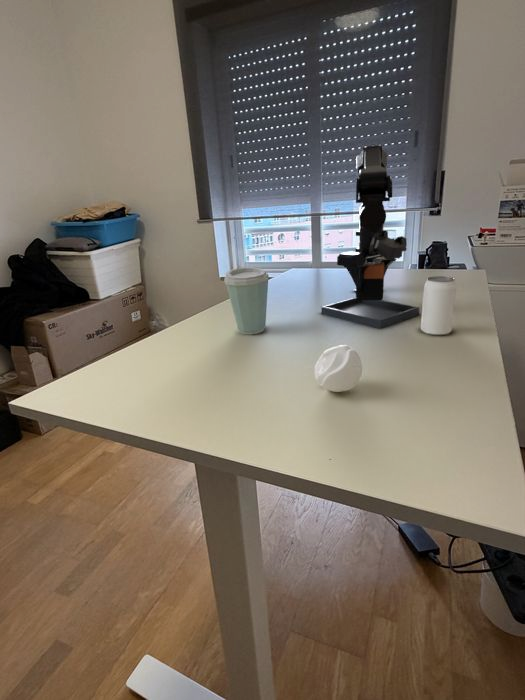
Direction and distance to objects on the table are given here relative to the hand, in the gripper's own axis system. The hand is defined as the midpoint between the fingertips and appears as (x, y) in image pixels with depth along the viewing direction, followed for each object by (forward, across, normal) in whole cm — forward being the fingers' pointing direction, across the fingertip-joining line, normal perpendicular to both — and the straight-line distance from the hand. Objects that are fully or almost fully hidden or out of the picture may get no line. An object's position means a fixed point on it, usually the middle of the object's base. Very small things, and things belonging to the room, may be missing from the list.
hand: (369, 289), depth 106 cm
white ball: (+7, -38, -25) cm, 46 cm away
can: (+7, -1, -20) cm, 21 cm away
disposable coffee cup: (+7, -30, +12) cm, 33 cm away
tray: (+7, 0, 0) cm, 7 cm away
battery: (+3, 0, 0) cm, 3 cm away
